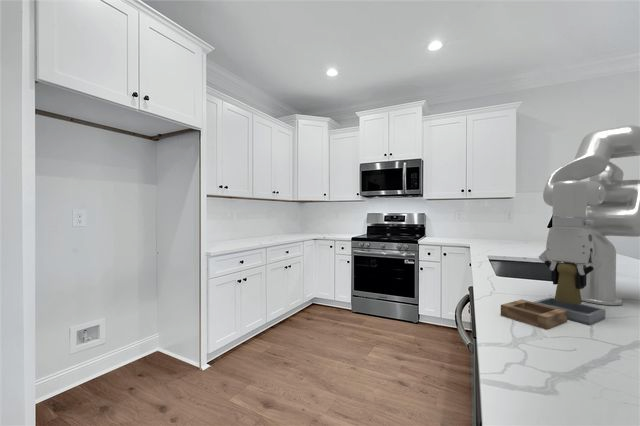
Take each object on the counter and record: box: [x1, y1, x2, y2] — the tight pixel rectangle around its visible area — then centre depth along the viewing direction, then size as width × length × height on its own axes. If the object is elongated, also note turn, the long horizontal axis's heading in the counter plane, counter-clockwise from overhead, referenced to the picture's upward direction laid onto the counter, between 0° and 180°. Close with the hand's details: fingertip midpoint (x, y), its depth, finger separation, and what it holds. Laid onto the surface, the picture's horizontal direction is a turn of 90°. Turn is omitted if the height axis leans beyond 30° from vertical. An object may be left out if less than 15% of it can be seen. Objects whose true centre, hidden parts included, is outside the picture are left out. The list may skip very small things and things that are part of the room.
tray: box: [533, 297, 606, 326], centre depth 84 cm, size 11×13×2 cm
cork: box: [554, 262, 583, 304], centre depth 84 cm, size 6×6×11 cm
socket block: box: [500, 299, 568, 330], centre depth 80 cm, size 11×11×3 cm
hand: (568, 285), depth 84 cm, fingers closed on cork, 4 cm apart
